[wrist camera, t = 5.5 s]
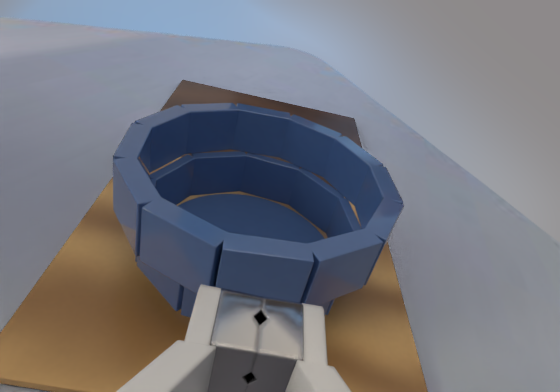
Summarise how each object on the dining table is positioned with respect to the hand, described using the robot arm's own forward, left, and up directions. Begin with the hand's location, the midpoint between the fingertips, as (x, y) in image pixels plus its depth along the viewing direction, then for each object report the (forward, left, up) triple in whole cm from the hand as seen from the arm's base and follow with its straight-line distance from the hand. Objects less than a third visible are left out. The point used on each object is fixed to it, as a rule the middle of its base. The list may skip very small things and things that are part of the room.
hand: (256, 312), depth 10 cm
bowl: (-5, +10, -8) cm, 13 cm away
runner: (-5, +10, -8) cm, 14 cm away
